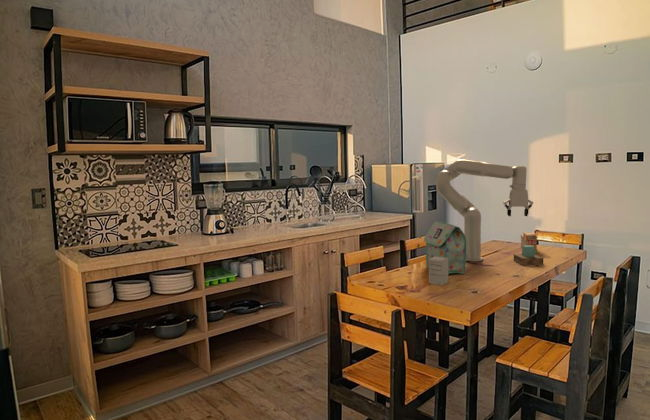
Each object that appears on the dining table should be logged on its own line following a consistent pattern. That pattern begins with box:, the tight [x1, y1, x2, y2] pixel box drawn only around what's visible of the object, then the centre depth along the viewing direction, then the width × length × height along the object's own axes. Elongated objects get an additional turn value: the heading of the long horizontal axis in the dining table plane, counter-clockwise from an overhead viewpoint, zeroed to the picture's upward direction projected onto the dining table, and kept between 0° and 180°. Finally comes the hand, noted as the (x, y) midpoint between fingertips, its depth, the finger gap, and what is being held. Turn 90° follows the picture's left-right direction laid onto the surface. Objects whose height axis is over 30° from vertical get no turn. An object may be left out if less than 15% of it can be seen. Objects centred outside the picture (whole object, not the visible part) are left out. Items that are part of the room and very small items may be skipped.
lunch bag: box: [423, 220, 467, 275], centre depth 253 cm, size 23×16×27 cm
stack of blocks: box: [520, 231, 538, 255], centre depth 303 cm, size 21×6×12 cm, turn 166°
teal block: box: [521, 245, 535, 257], centre depth 267 cm, size 5×5×6 cm
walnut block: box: [513, 253, 544, 266], centre depth 267 cm, size 12×12×4 cm
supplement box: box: [428, 257, 449, 286], centre depth 228 cm, size 7×7×13 cm
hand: (517, 216), depth 272 cm, fingers open, 9 cm apart
